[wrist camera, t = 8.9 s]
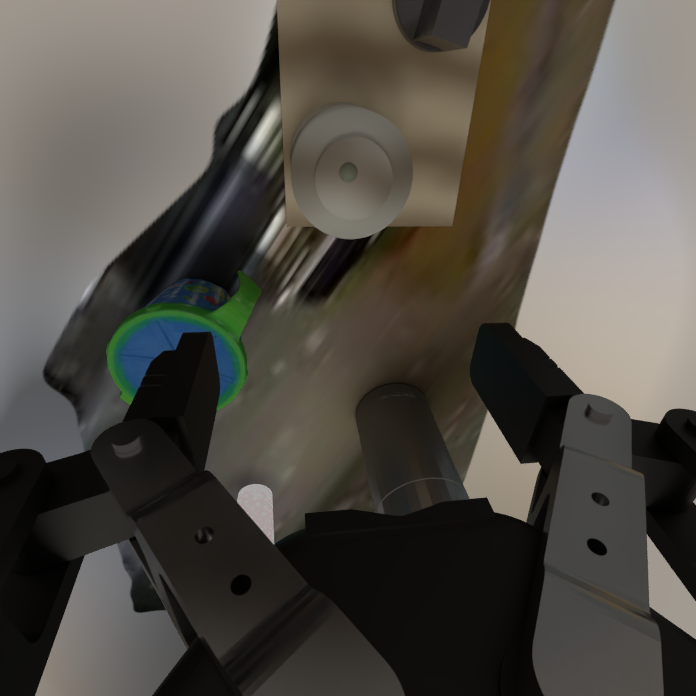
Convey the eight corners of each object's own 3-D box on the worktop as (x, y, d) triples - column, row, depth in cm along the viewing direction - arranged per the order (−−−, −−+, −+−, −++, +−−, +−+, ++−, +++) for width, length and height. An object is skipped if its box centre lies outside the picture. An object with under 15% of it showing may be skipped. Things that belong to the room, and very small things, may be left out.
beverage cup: (251, 474, 55) (241, 579, 44) (286, 491, 58) (286, 595, 46) (223, 498, 57) (207, 605, 46) (259, 514, 60) (252, 619, 48)
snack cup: (224, 222, 37) (206, 264, 29) (294, 306, 43) (296, 363, 34) (100, 313, 40) (51, 376, 32) (180, 381, 46) (156, 450, 37)
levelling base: (445, 219, 40) (493, 263, 30) (286, 219, 38) (287, 266, 29) (506, -157, 27) (623, -281, 17) (268, -185, 25) (258, -341, 16)
